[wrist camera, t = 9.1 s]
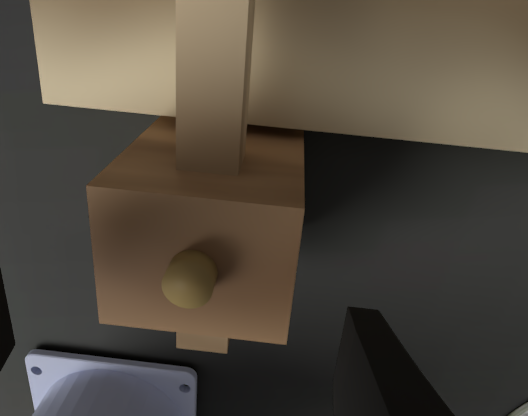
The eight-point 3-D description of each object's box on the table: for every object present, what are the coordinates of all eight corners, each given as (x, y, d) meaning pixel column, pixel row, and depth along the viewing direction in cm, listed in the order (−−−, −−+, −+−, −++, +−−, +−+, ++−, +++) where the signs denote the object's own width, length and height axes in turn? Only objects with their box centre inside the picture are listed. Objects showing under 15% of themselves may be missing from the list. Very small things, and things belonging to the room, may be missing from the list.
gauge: (286, 270, 19) (277, 420, 12) (165, 257, 19) (94, 398, 12) (327, -71, 14) (352, -121, 7) (159, -85, 14) (33, -147, 7)
